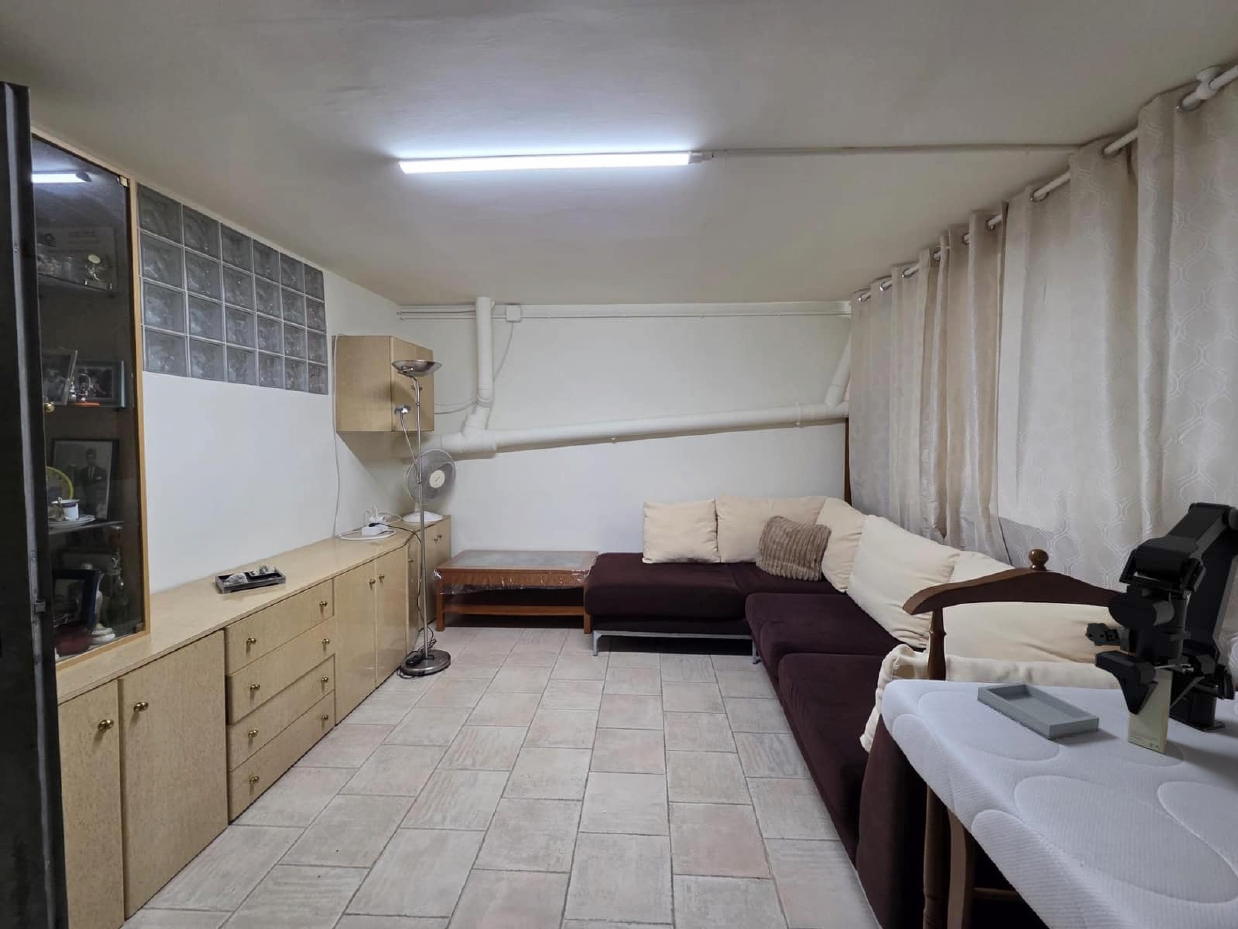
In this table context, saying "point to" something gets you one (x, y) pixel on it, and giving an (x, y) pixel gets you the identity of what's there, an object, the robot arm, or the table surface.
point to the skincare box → (1153, 716)
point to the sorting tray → (1038, 710)
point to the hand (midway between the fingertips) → (1149, 711)
